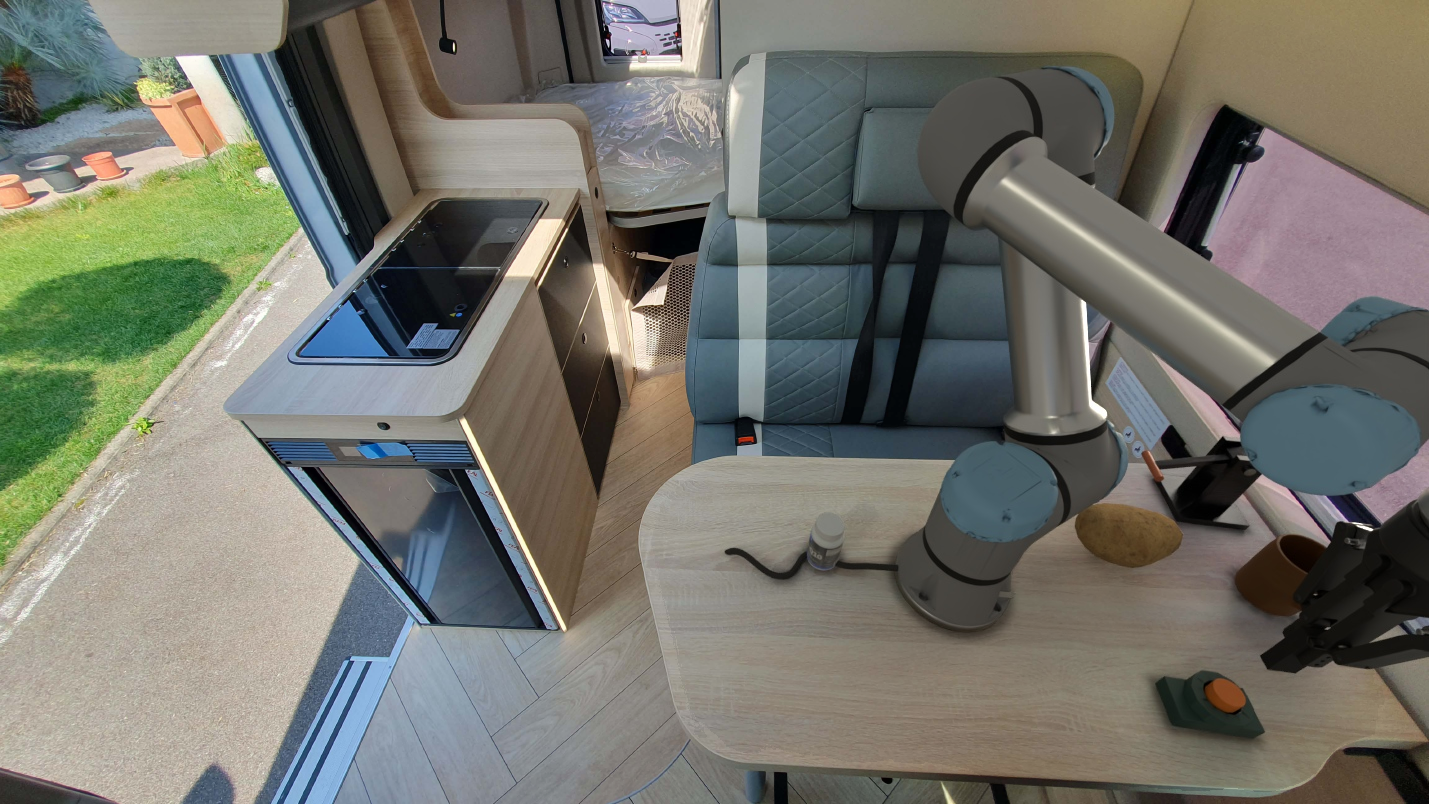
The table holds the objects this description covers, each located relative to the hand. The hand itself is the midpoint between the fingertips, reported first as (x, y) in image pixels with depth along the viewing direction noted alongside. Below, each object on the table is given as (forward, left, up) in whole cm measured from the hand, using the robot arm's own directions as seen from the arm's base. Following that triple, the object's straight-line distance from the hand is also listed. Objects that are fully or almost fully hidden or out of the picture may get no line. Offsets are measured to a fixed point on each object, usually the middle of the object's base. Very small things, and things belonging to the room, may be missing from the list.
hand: (1277, 664), depth 61 cm
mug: (+16, +16, -13) cm, 26 cm away
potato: (-3, +22, -13) cm, 26 cm away
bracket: (+14, +34, -13) cm, 39 cm away
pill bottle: (-46, +14, -13) cm, 50 cm away
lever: (+9, +34, -5) cm, 36 cm away
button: (0, 0, -10) cm, 10 cm away
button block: (0, 0, -13) cm, 13 cm away
